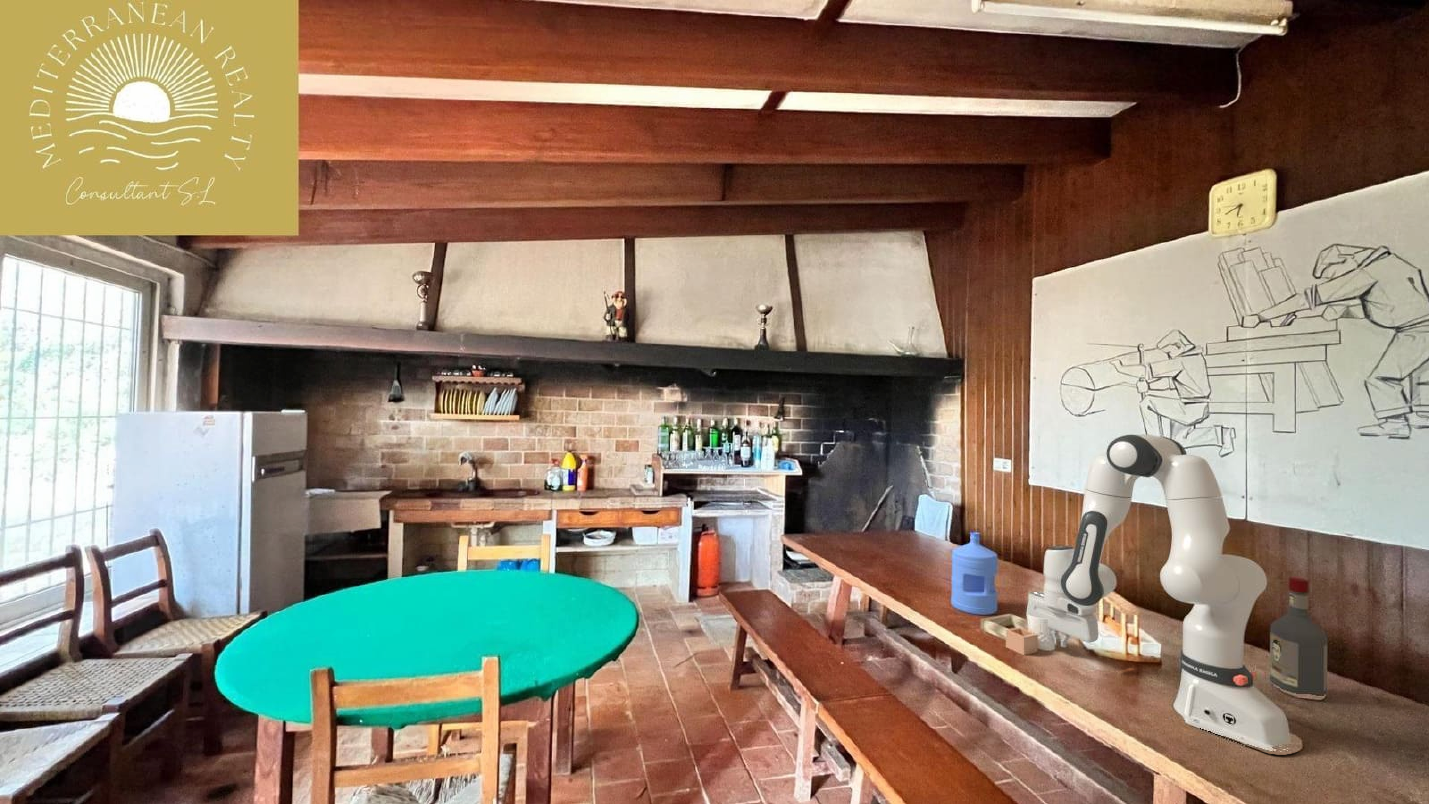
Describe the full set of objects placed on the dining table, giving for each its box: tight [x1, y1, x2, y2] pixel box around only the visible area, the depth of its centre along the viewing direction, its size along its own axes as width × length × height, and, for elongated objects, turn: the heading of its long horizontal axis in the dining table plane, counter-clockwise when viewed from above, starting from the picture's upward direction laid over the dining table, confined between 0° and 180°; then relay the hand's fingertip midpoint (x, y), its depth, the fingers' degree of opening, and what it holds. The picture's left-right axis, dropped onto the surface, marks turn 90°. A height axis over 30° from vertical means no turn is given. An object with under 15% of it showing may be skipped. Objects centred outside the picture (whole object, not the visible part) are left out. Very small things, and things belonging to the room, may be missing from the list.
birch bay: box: [980, 613, 1028, 641], centre depth 184 cm, size 13×14×4 cm
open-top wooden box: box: [1005, 627, 1039, 656], centre depth 171 cm, size 6×6×6 cm
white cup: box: [1026, 612, 1056, 652], centre depth 174 cm, size 8×8×10 cm
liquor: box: [1269, 576, 1328, 696], centre depth 149 cm, size 9×9×30 cm
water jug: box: [950, 531, 999, 616], centre depth 209 cm, size 16×16×28 cm
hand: (1060, 645), depth 169 cm, fingers closed
